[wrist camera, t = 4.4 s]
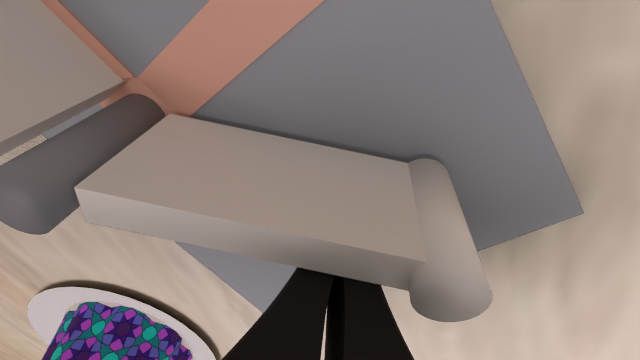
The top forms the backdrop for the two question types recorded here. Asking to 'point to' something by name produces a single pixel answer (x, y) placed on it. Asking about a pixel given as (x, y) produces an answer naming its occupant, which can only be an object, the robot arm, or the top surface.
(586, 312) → the top surface
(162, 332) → the pudding
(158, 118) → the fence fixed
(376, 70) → the card
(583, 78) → the top surface
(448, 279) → the fence gate
